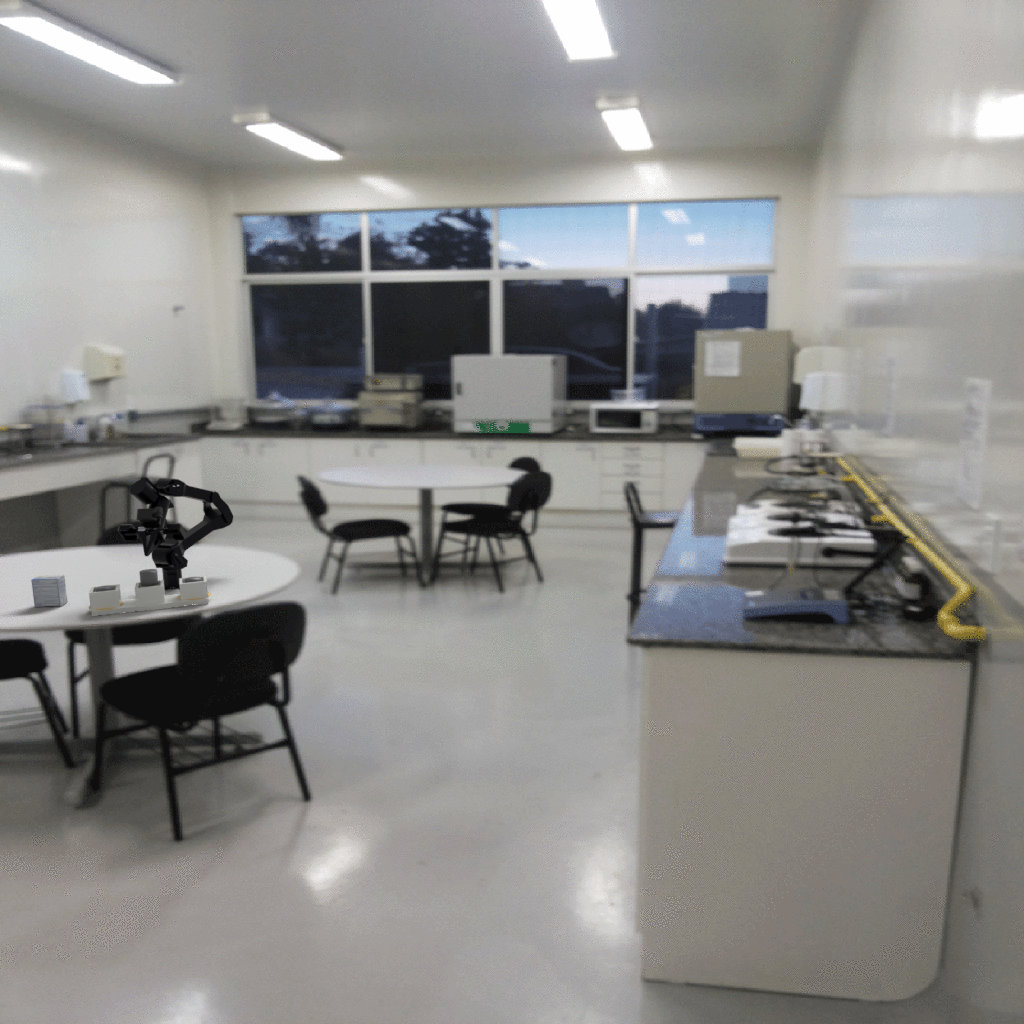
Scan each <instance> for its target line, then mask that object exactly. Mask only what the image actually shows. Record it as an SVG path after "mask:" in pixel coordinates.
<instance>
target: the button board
mask: <svg viewBox="0 0 1024 1024" xmlns="http://www.w3.org/2000/svg"><path fill="white" fill-rule="evenodd" d="M198 577H201V578H202V581H200V582H190V583H185V582H184V579H185V578H186V577H182V578H179V585H180V588H179V593H175V594H167V595H166V593H165V590H166V589H164V580H163V579H161V580H159V579H158V584H157V585H153V586H141V584H140V582H135V585H134V595H135V598H127V599H122V595H121V594H122V593H121V585H120V584H111V586H114V590H111V591H101V592H96V591H95V588H96V587H99V586H91V587H90V590H89V592H88V597H89V606H88V609H89V610H90V611H91V612H90V613H91V617H92V616H93V617H99V616H98V615H102V616H107V615H106V614H111V615H114V614H113V613H120V614H124V613H123V612H129V613H136V612H135V611H138V612H146V611H145V610H147V611H154V610H163V609H164V608H165V609H172V608H171V607H175V608H178V607H177V606H184V605H192V604H193V606H195V605H194V604H202V605H208V604H209V603H208V598H210V596H211V593H210V592H209V590H208V579H207V576H206V575H202V576H201V575H200V576H198ZM184 607H185V606H184Z"/></svg>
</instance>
